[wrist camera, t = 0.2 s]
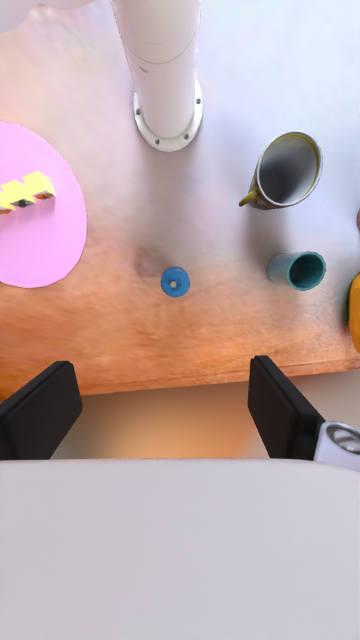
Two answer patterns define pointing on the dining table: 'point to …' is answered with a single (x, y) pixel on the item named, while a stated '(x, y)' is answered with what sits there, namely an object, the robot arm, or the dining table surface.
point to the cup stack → (358, 219)
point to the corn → (354, 311)
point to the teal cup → (297, 270)
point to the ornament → (175, 282)
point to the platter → (37, 211)
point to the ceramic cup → (285, 171)
